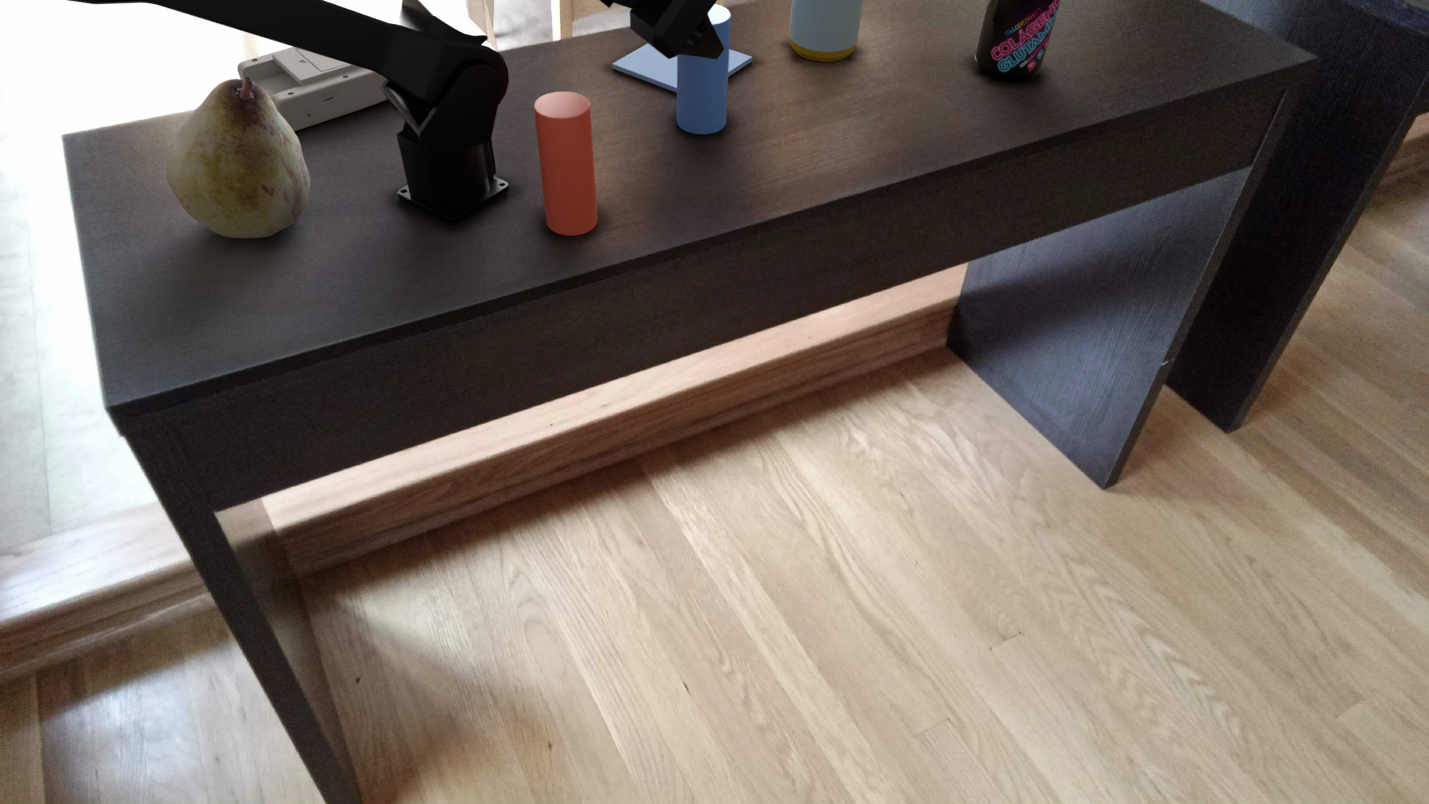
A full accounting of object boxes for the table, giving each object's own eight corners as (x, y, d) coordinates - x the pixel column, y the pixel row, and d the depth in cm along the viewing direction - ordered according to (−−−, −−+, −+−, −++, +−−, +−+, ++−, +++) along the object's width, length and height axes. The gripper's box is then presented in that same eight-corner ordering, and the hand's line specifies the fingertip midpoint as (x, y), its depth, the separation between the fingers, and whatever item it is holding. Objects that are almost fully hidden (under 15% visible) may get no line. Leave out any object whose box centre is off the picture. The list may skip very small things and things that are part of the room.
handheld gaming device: (383, 14, 92) (392, 52, 94) (231, 57, 85) (246, 97, 87) (429, 46, 87) (437, 85, 90) (273, 95, 80) (286, 136, 83)
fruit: (328, 248, 72) (282, 101, 63) (193, 273, 69) (126, 123, 60) (315, 178, 78) (271, 36, 70) (191, 198, 76) (130, 53, 67)
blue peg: (707, 140, 85) (710, 30, 77) (666, 124, 86) (666, 15, 79) (735, 120, 87) (741, 11, 80) (695, 105, 89) (698, -3, 82)
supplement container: (968, 77, 95) (994, -30, 87) (976, 48, 99) (1001, -56, 92) (1037, 89, 93) (1069, -19, 86) (1042, 59, 98) (1072, -45, 91)
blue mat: (694, 99, 90) (694, 94, 89) (611, 68, 94) (611, 63, 93) (752, 61, 96) (752, 56, 95) (672, 33, 99) (672, 29, 99)
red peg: (574, 242, 73) (564, 124, 66) (536, 223, 75) (521, 106, 68) (607, 218, 76) (601, 102, 68) (569, 201, 77) (559, 85, 70)
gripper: (699, -151, 61) (818, -10, 73) (566, -219, 71) (689, -87, 84) (597, -2, 63) (728, 109, 75) (483, -89, 74) (614, 21, 86)
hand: (689, 31), depth 80 cm, fingers open, 9 cm apart
